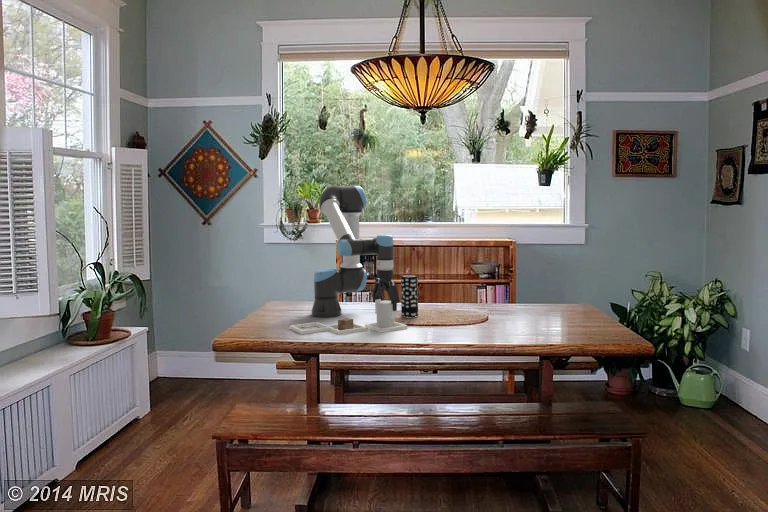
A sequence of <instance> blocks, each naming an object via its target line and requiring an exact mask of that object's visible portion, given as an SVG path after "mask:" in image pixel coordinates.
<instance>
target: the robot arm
mask: <svg viewBox="0 0 768 512" xmlns="http://www.w3.org/2000/svg"><path fill="white" fill-rule="evenodd" d="M367 202H368V201H367V196H366V193H365V190H364V188H363V187H361V186H359V185H332V186H328V187H327V188H325V189H324V190H323V191H322V193H321V194H320V197H319V200H318V204H319V205H318V206H319V208H320V211H321V214H324V215H325V217H326V218H327V221H328V222H329V224H330V227H331V229H332V231H333V233H334V235H335V237H336V240H337V241H336V252H337V254H338V255H339V257H340V256H341V257H342V263H341V264H340V265H339V269H338V268H337V267H325V268H320V269H318V270H316V271H315V272H314V275H313V283H314V284H313V287H314V288H313V291H314V301H313V304H312V307H311V316H313V317H317V318H333V317H339V316H341V315H342V314H343V313H342V308H341V305H340V302H339V296H338V295H339V294H342V293H357V292H361V291H363V290H364V289H365V288H366V285H367V280H368V276H367V275H368V274H367V271H366V269H365V268H364V267H363V265H362V263H360V260H361V259H360V256H368V255H376V278H375V281H374V287H373V290H372V295H371V297H372V298H373V299H374V305H375V306H374V307H375V308H374V310H375V311H374V312H375V313H374V314H375V315H377V308H376V302H377V301H382V295H383V292H384V291H385V292H386V293H387V295H388V298H389V301H391V303H390V304H391V318H395V319H397V318H398V317H397V316H398V312H397V311H398V309H397V307H398V303H400V302H401V301H400V297H399V293H398V290H397V284H396V283H397V282H396V281H395V280H393V281H392V279H394V276H395V275H394V266H395V265H394V238H393V236H392V234H378V235H376V237H375V236H373V237H369V238H366V237H365V238H360V216H361V214H362V213H363V210H364V209H365V208H366V207H367Z"/></svg>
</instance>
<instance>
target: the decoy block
mask: <svg viewBox="0 0 768 512" xmlns="http://www.w3.org/2000/svg"><path fill="white" fill-rule="evenodd" d="M353 323H354V318H350V317H343V318H339V319H337V324H338V328H337V330H347V329H355V327H354V324H353Z"/></svg>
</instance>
